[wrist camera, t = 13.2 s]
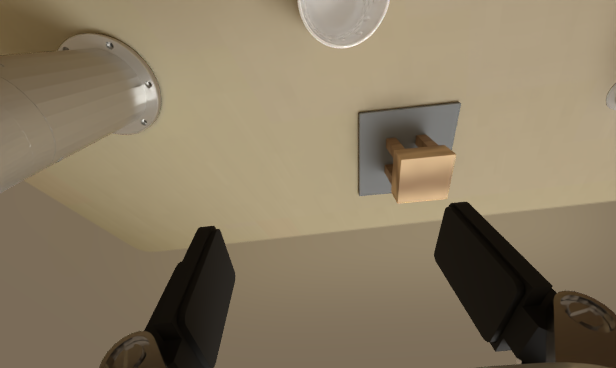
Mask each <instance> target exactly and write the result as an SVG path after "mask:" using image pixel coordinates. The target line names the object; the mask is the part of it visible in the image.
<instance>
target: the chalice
mask: <svg viewBox="0 0 616 368" xmlns="http://www.w3.org/2000/svg"><path fill="white" fill-rule="evenodd" d="M606 103H607V106H608V107H609V108H611V109H613V110H616V84H615V85H614V86H613V87H612V88H611V89H610V91H609V93H608V95H607V98H606Z"/></svg>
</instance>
